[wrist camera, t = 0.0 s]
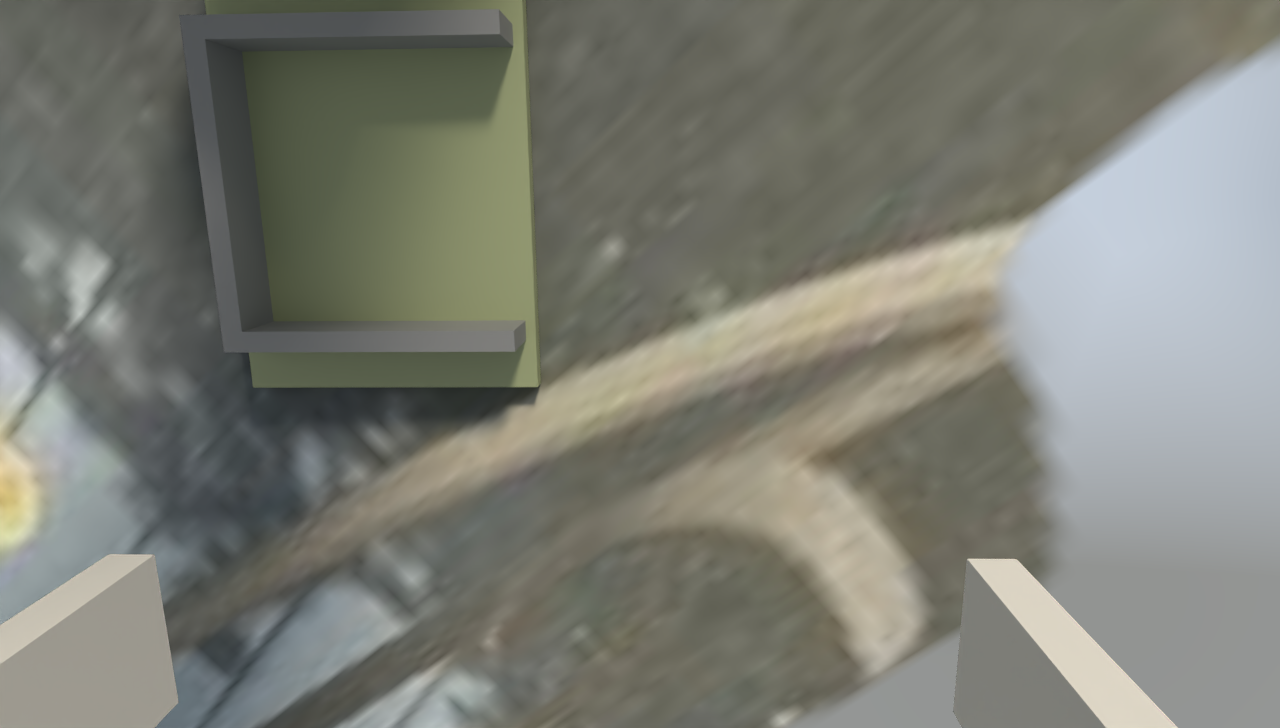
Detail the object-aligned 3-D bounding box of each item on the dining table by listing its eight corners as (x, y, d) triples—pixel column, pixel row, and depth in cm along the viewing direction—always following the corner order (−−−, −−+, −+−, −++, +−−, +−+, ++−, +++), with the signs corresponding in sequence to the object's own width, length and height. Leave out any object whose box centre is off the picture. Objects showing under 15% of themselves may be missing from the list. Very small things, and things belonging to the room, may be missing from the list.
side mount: (213, -22, 37) (159, -48, 33) (524, -29, 36) (507, -55, 32) (262, 383, 41) (220, 403, 37) (540, 382, 40) (527, 402, 37)
